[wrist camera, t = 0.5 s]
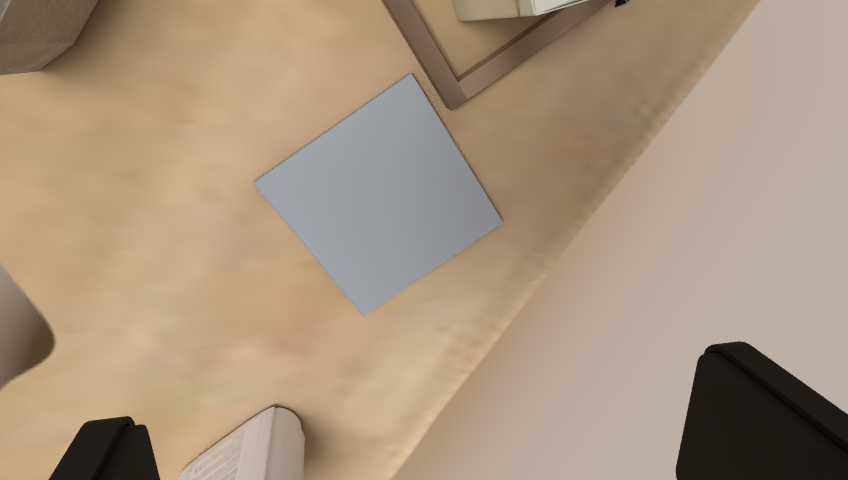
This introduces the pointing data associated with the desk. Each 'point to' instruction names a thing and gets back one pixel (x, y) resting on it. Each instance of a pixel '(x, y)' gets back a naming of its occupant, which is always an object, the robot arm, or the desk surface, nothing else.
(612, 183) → the desk surface
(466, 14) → the skincare box
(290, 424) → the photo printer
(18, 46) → the padlock
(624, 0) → the fountain pen
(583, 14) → the collar
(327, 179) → the rubber mat
